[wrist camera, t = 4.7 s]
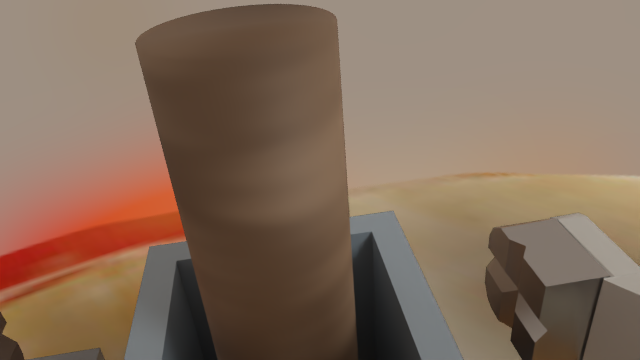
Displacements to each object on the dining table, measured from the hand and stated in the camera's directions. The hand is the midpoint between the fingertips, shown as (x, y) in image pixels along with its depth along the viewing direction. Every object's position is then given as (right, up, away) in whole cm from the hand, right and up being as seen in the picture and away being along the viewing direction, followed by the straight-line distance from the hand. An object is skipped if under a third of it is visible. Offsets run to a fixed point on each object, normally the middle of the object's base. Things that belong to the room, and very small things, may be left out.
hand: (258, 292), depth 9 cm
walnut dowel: (+1, -9, +10) cm, 13 cm away
